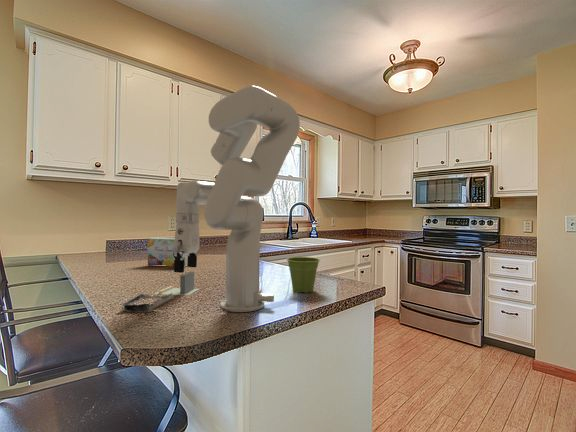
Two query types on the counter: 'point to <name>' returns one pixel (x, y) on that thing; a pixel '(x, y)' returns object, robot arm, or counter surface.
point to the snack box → (162, 252)
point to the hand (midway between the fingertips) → (185, 269)
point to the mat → (173, 291)
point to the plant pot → (303, 273)
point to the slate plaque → (186, 282)
